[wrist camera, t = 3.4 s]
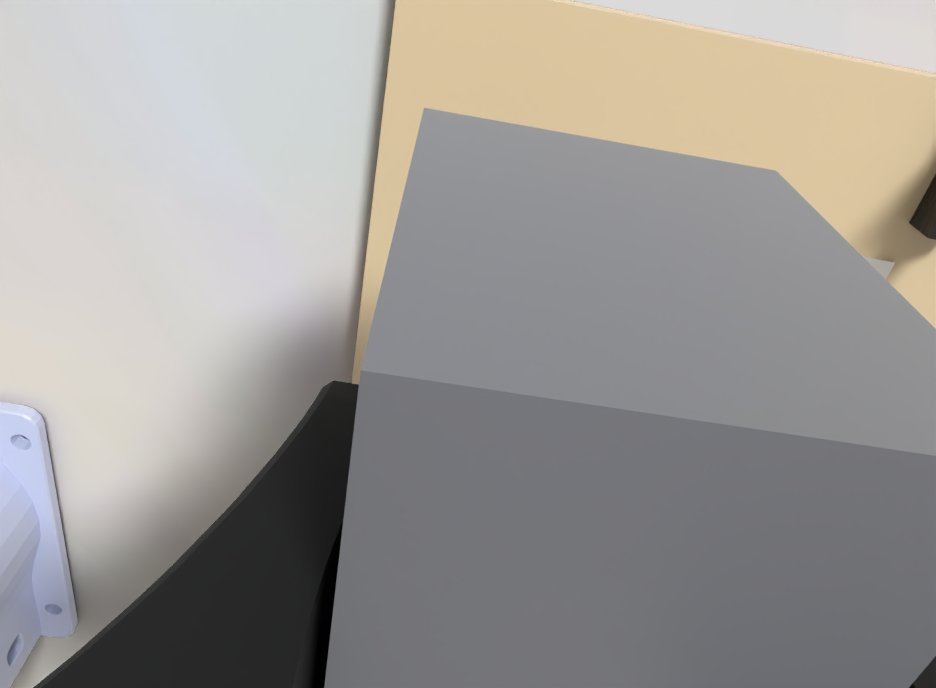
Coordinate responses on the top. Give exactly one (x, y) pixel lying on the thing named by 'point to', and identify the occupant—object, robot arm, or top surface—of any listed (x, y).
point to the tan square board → (669, 113)
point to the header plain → (926, 213)
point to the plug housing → (632, 432)
